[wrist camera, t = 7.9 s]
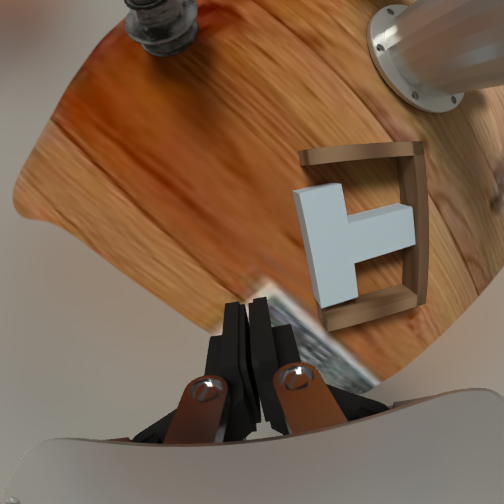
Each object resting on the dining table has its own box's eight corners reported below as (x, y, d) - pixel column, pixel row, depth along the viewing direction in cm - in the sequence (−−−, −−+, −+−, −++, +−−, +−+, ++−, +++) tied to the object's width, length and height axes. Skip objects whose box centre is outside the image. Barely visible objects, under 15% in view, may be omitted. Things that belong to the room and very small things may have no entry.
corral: (318, 316, 27) (327, 331, 25) (298, 151, 23) (307, 149, 20) (410, 291, 28) (425, 303, 25) (404, 142, 23) (422, 141, 20)
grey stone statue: (179, -2, 18) (154, -83, 7) (214, 34, 20) (205, -50, 8) (126, 33, 19) (69, -32, 7) (158, 71, 20) (106, 7, 9)
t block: (313, 296, 27) (321, 308, 24) (292, 190, 24) (299, 193, 22) (403, 267, 27) (416, 276, 24) (392, 169, 24) (407, 170, 22)
